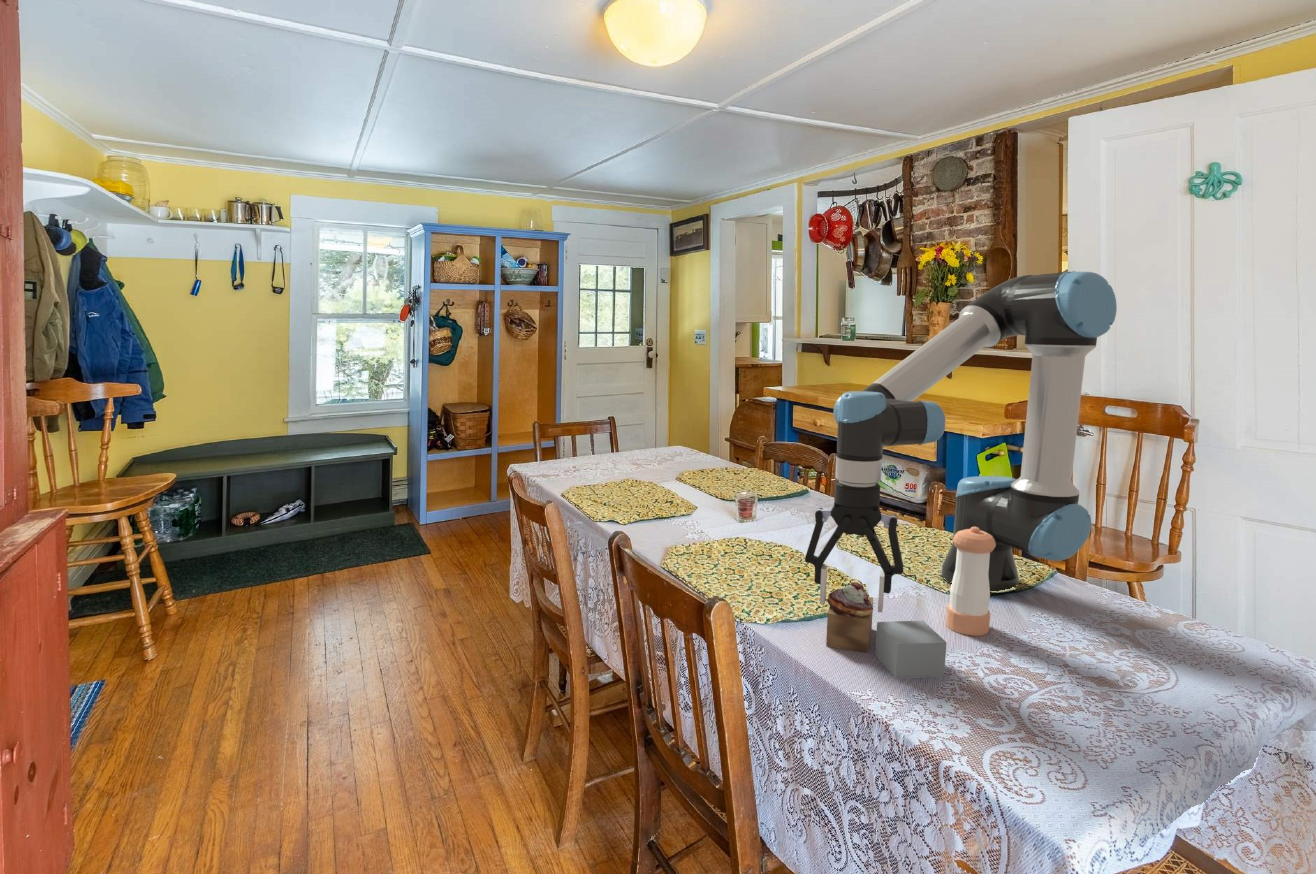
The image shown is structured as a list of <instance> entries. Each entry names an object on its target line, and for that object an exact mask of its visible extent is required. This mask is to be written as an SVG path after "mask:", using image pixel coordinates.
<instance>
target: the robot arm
mask: <svg viewBox="0 0 1316 874" xmlns="http://www.w3.org/2000/svg"><path fill="white" fill-rule="evenodd" d="M1117 306H1118V305H1117V298H1116V294H1115V292H1114V289H1113V287H1112V285H1110V284H1109V282H1108V281H1107V279H1106V278H1105V277H1103V276H1102V275H1100V274H1098V273H1096V272H1093V271H1075V270H1073V271H1063V272H1052V273H1043V274H1027V275H1020V276H1016V277H1012V278H1011V279H1008V280H1006V281H1004V282H1002V283H1000V284H998V285H996V286H994V287H992V288H991V289H989V290H987V291H986V292H984V293H983V294H982V295H980V296H978V297H977V298H976V299H974V300H973V301H972V302H970V303H969V304H968V305H966V306H965V307H964V308H962V309H961V311H960V312H959V315H958V318H957V319H956V320H954V321H953V322H952V323H950V324H949V325H947V327H945V328H944V329H942V330H941V331H940V332H938V333H937V334H936V335H935V336H933V337H932V338H931V339H929V340H928V341H927V342H925V343H924V344H923V345H921V346H920V347H919V348H917V349H916V350H915V351H913V352H912V353H911V354H910V355H908V356H906V358H904V359H902V360H901V361H900V362H899V363H897V364H896V365H894V367H892V368H891V369H889V370H888V371H887V372H885V373H884V374H882V376H880V377H879V378H878V379H876V380H875V381H873V382H872V383H871V384H869V385H868V386H867V387H866V388H864V389H863V390H861V391H857V390H851V391H846V392H844V393H842V395H840V396H839V397H838V399H837V400H836V402H835V404H834V407H833V419H834V420H835V422H836V424H837V438H836V440H837V441H836V456H835V459H836V460H835V479H836V480H837V481H836V482H835V483H834V495H833V496H834V499H833V500H834V501H833V506H832V508H830V509H825V508H823V507H818V508H817V509H816V511H815V513H814V517H815V518H814V519H815V524H814V528H813V531H812V534H811V539H810V541H809V545H808V548H807V551H806V553H805V557H804V561H805V563H807V564H810V565H812V566H814V584H816V585H820V587H819V588H820V589H819V604H821V605H825V602H826V600H827V599H826V598H827V583H828V582H827V579H828V578H827V577H828V564H826V563H825V561H826V560H827V558H828V557H829V555H830V554H831V552H832V551H833V549H834V548H835V546H836V544H837V542H838V541H839V540H840V538H841V537H842V535H843V534H844V535H856V536H859V537H864V536H865V538H866V540H867V541H868V543H869V545H870V546H871V549H872V550H873V553H874V555H875V557H876V558H877V562H878V563H879V565H880V567H881V570H880V573H879V584H878V585H879V586H878V598H877V599H878V600H877V601H878V602H877V612H878V613H883V609H884V598H885V597H884V595H885V594H890V593H891V591H892V579H893V578H892V577H893V576H895V575H903V573H904V563H903V558H902V552H901V547H900V541H899V537H898V532H897V525H898V519H899V518H898V516H897V515H896V514H892V515H887V514H885V513H884V514H883V513H882V512H881V509H880V501H881V500H880V499H881V485H880V484H879V482H881V480H882V467H883V466H882V465H883V451H884V447H892V446H894V447H895V446H910V445H911V446H913V445H918V446H922V445H924V444H925V445H926V444H931V443H935V442H937V441H938V440H940V439H941V438H942V436H943V434H944V432H945V430H946V422H947V421H946V415H945V413H944V411H943V408H942V407H941V406H940V405H939V404H938V403H936V402H934V401H930V400H929V401H927V400H926V401H924V400H917V399H918V398H919V397H920V396H922V395H923V394H924V393H926V392H927V391H929V389H931V388H932V387H933V386H935V385H936V384H937V383H939V382H941V380H944V378H945V377H947V376H948V375H950V373H952V372H953V371H955V370H956V369H957V368H958V367H960V366H961V365H962V364H964V363H965V362H966V361H967V360H969V359H970V358H972V356H974V355H976V353H978V352H979V351H981V350H982V349H983V348H990V347H992V348H993V347H994V346H995V345H998V343H1000V342H1001V341H1002V340H1004V339H1008V338H1010V337H1011V338H1012V337H1015V336H1025V337H1024V347H1025V348H1026V349H1027V350H1028V351H1029V352H1030V353H1031V355H1032V357H1031V368H1030V375H1029V376H1030V378H1029V379H1030V380H1029V389H1028V398H1027V407H1026V418H1025V429H1024V439H1023V449H1022V457H1021V460H1022V461H1021V467H1020V476H1019V478H1017V479H1016V478H1014V477H1009V476H996V475H995V476H993V475H991V476H990V475H987V476H986V475H985V476H981V475H979V476H968V477H963V478H961V479H960V480H959V481H958V483H957V489H956V493H955V495H954V496H955V498H954V499H955V502H954V504H955V505H954V516H953V517H954V520H953V534H952V535H953V537H952V539H953V538H954V535H955V534H956V533H957V532H958V531H961V530H965V529H971V527H978V528H979V529H980V530H981V531H984V532H986V533H988V534H990V535H992V536H993V538H994V540H995V544H996V546H995V548H994V550H993V551H992V552H990V559H989V572H988V577H989V588H990V591H999V590H1005V589H1010V588H1012V587H1015V586H1016V585H1017V584H1018V585H1019V576H1020V575H1019V572H1018V568H1017V564H1016V561H1015V558H1014V554H1013V548H1015V549H1016V550H1019V551H1022V552H1025V553H1027V554H1030V555H1031V556H1033V557H1036V558H1039V559H1040V558H1041V559H1045V560H1047V561H1052V562H1060V561H1065V560H1067V559H1070V558H1071V557H1073V556H1074V555H1075V554H1077V553H1078V551H1079V550H1080V549H1082V548H1083V546H1084V545H1085V543H1086V542H1087V540H1088V537H1089V536H1090V533H1091V527H1092V518H1091V514H1089V511H1088V510H1087V509H1086V508H1085V507H1084V506H1083V505H1082V504H1079V499H1080V490H1079V489H1078V488H1077V487H1076V485H1074V484H1073V482H1072V477H1073V470H1074V460H1075V453H1076V452H1075V450H1076V443H1077V435H1078V434H1077V433H1078V425H1079V416H1080V408H1081V407H1080V406H1081V397H1082V388H1083V382H1084V381H1083V380H1084V370H1085V361H1086V356H1087V355H1088V354H1089V353H1090V352H1091V351H1093V350H1094V349H1095V348H1097V341H1098V338H1099V337H1101V336H1103V335H1105V334H1106V333H1108V331H1110V329H1111V326H1112V325H1113V324H1114V322H1115V320H1116V317H1117V308H1118V307H1117ZM915 400H917V401H915ZM830 517H831V518H832V520H833V521H834V522H835V524H836V525H837V526H836V528H835V530H834V531H833V532H832V534H831V536H830V537H829V539H828V541H827V542H826V543H825V545H824V547H823V549H822V550H821V552H820V553H819V554H818V555H815V554H816V553H815V552H816V550H817V547H818V543H819V540H820V536H821V534H822V530H823V527H824V524H825V523H826V522H828V519H829V518H830ZM880 522H882V523H883V526H884V528H885V529H887V532H888V533H887V534H888V539H889V544H890V549H891V555H892V559H893V564H892V565H891V563H890V561H889V558H888V556H887V554H886V551H885V550H884V547H883V546H882V543H881V541H880V540H879V538H878V535H877V532H876V530H875V527H876V526H877V525H878V524H879V523H880ZM956 556H957V547H955V545H954V542H953V541H952V543H951V546H950V548H949V550H948V552H947V554H946V557H945V559H944V561H943V563H942V567H941V577H942V576H943V577H944V578H945V579H946V580H947V581H948V582H951V583H952V580H953V576H954V572H955V567H956ZM947 581H946V582H947ZM948 582H947V583H948Z"/></svg>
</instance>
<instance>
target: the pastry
mask: <svg viewBox="0 0 1316 874" xmlns="http://www.w3.org/2000/svg"><path fill="white" fill-rule="evenodd" d="M863 585H864V584H863V583H859V582H858V581H854V582H853V581H852V582H850V584H848V585H846V586H844V587H843V588H837V589H834V590H833V591H832V592H830V593H828V597H827V599H826V600H827V603H828V605H829V607H831V608H832V609H833V610H835V611H836V612H838V613H839V614H841V615H843V616H850V617H858V618H861V617H868V616H869V615H871V614H872V611H873V610H874V606H873V607H872V605H871V602H870V600H869V597H870V594H867V590H866V589H865V588H864V586H863ZM873 612H874V611H873ZM872 615H873V614H872Z"/></svg>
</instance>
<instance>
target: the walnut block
mask: <svg viewBox="0 0 1316 874" xmlns="http://www.w3.org/2000/svg"><path fill="white" fill-rule="evenodd" d="M869 600H870V602H871V605H872V607H873V608H874V597H872V596H869ZM873 612H874V611H872V614H871V615H869V616H868V617H861V618H858V617H850V616H843V615H841V614H839V613H838V612H836V611H835V610H833V609H832V608H831V607H830V606H829V607H828V611H827V622H826V641H825V644H826V645H825V646H826V647H830V648H831V647H832V648H835V649H836V648H837V649H844V650H848V651H855V652H856V651H857V652H862V653H867V654H868V653H869V649H870V643H871V642H870V641H871V635H872V629H873V626H872V625H873Z"/></svg>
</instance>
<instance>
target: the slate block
mask: <svg viewBox="0 0 1316 874" xmlns="http://www.w3.org/2000/svg"><path fill="white" fill-rule="evenodd" d="M876 624H877V625H876V636H875V637H876V638H875V654H874V655H875V656H876V657H877V659H879V661H880V662H881V663H882V665H883V666H884V667H885V668H886V669H887V671H888V672H889V673H890V675H891V676H892V677H893V678H894V679H895V680H899V679H923V678H944V677H945V669H946V667H945V666H946V656H947V655H946V654H947V644H948V642H947V641H946V640H945V639H944V638H943V637H941V635H939V634H938V633H937V632H936V631H935V629H933V628H932V627H931V626H930V625H929V624H927V622H926V621H924V620H899V621H893V620H892V621H877V622H876Z"/></svg>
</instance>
